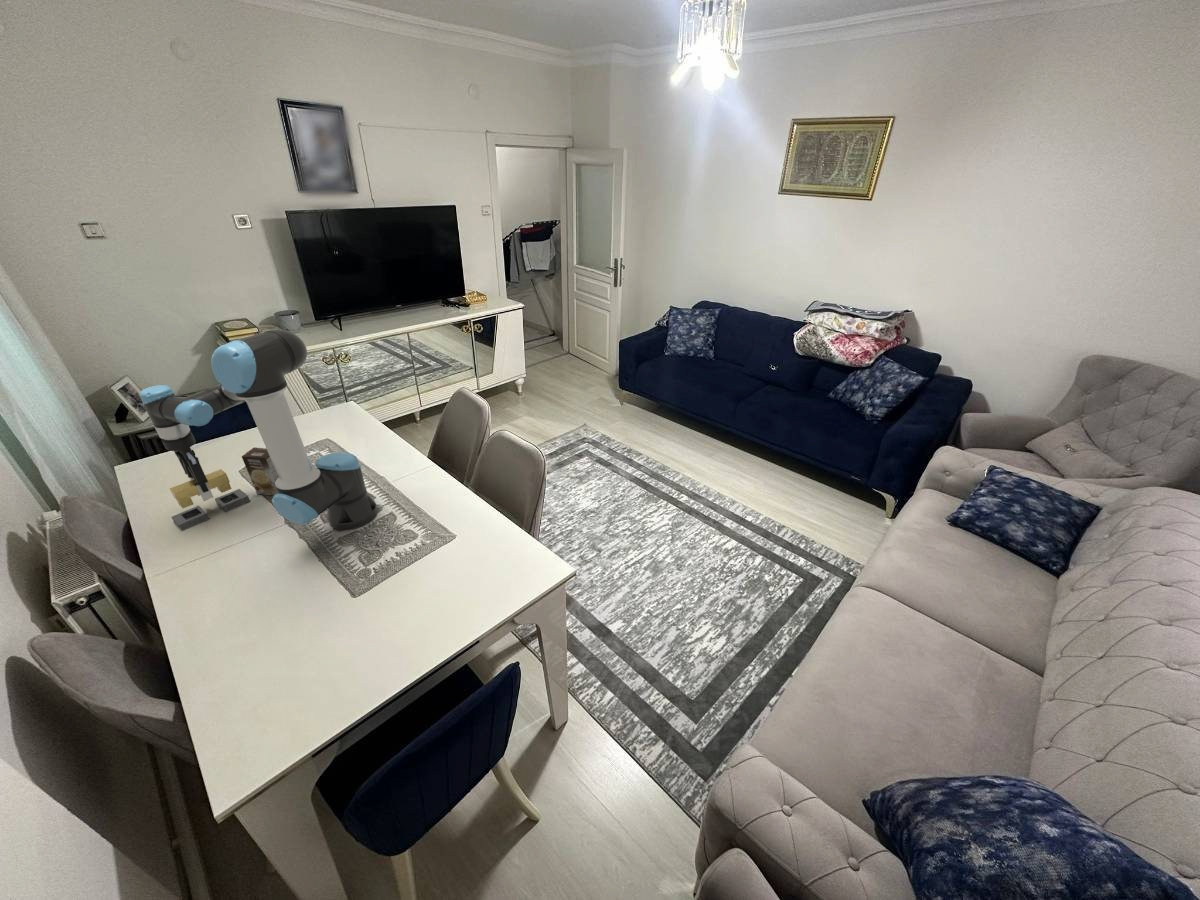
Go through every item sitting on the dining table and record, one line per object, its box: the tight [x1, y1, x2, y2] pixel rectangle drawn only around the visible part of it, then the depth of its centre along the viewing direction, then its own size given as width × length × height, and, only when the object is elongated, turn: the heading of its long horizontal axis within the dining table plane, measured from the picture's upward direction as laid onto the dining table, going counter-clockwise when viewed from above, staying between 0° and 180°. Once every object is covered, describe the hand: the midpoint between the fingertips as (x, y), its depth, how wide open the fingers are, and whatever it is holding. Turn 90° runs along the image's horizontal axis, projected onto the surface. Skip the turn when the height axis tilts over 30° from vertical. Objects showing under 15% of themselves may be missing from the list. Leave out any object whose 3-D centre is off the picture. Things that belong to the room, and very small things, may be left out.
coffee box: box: [241, 447, 279, 497], centre depth 170 cm, size 9×6×16 cm
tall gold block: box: [169, 469, 232, 509], centre depth 158 cm, size 4×14×6 cm, turn 144°
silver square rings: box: [171, 488, 251, 531], centre depth 162 cm, size 7×20×2 cm, turn 144°
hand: (205, 496), depth 160 cm, fingers closed on tall gold block, 4 cm apart
